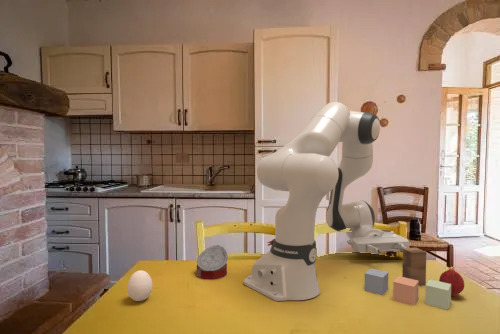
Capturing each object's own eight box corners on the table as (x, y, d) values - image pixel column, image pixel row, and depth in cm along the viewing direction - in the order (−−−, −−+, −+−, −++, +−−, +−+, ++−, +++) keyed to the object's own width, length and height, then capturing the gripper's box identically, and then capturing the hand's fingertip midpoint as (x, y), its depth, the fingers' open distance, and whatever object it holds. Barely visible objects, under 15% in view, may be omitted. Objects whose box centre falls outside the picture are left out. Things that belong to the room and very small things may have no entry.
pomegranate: (468, 301, 82) (469, 271, 82) (444, 299, 83) (444, 270, 83) (458, 292, 88) (458, 264, 87) (435, 290, 89) (436, 262, 89)
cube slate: (364, 290, 89) (364, 273, 89) (370, 284, 93) (370, 268, 93) (382, 295, 86) (382, 277, 86) (388, 289, 90) (388, 272, 90)
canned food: (227, 286, 103) (239, 263, 100) (202, 292, 96) (213, 267, 93) (211, 262, 111) (221, 240, 107) (186, 266, 104) (196, 242, 101)
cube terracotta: (393, 300, 83) (393, 281, 83) (398, 293, 87) (398, 276, 87) (413, 305, 80) (414, 286, 80) (418, 298, 84) (418, 280, 84)
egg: (138, 308, 79) (137, 277, 79) (122, 302, 82) (121, 272, 82) (157, 298, 84) (157, 269, 84) (141, 292, 88) (141, 265, 87)
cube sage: (425, 304, 81) (425, 285, 81) (429, 297, 85) (429, 279, 85) (447, 310, 78) (448, 290, 78) (450, 302, 82) (451, 284, 81)
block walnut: (402, 280, 96) (402, 248, 96) (415, 279, 97) (416, 247, 96) (411, 286, 92) (412, 252, 91) (425, 285, 92) (426, 252, 92)
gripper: (345, 232, 118) (362, 242, 105) (395, 230, 121) (419, 240, 107) (345, 249, 119) (362, 261, 105) (395, 246, 121) (419, 258, 107)
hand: (391, 250), depth 106 cm, fingers open, 8 cm apart
